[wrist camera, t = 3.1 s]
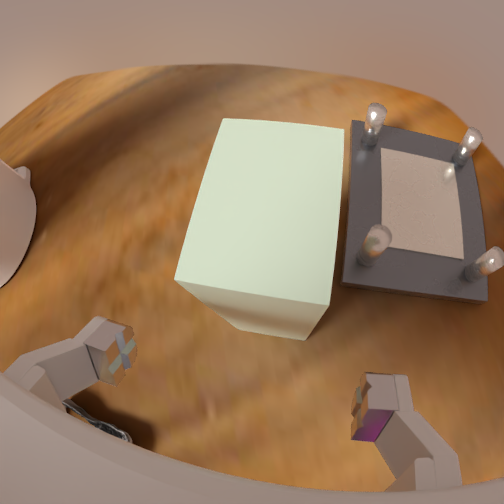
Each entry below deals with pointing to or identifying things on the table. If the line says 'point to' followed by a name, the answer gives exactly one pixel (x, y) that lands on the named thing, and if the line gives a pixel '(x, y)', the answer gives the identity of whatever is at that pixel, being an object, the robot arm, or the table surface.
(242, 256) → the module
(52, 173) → the table surface
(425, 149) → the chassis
